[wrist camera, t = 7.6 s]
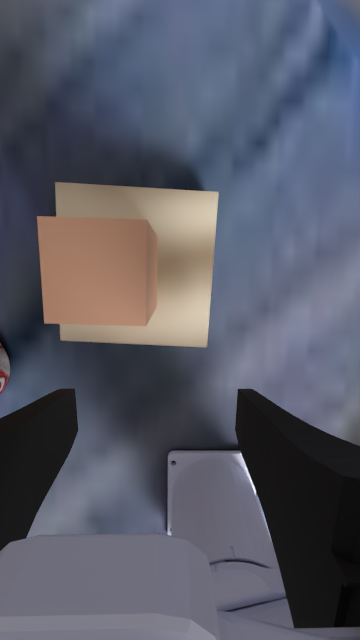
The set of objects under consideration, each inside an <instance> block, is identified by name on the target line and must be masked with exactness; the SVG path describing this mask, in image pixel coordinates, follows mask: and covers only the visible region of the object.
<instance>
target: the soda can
mask: <svg viewBox="0 0 360 640" xmlns="http://www.w3.org/2000/svg"><path fill="white" fill-rule="evenodd" d="M9 376H10V364H9V359H8V356H7V354H6V352H5V350H4V348H3V347H2V345H1V344H0V394H1V392H2V391H3V390H4V389H5V387H6V385H7V383H8V380H9Z"/></svg>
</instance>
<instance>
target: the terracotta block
mask: <svg viewBox="0 0 360 640" xmlns="http://www.w3.org/2000/svg"><path fill="white" fill-rule="evenodd" d="M37 224H38V238H39V253H40V267H41V282H42V297H43V311H44V323H46V324H81V325H117V326H147V324H148V322H149V320H150V319H151V317H152V315H153V313H154V311H155V310H156V308H157V261H158V236H157V235H156V233H155V231H154V230H153V228H152V227H151V225H150V224H149V222H148V221H147V220H143V219H112V218H82V217H52V216H37Z"/></svg>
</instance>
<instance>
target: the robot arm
mask: <svg viewBox="0 0 360 640" xmlns="http://www.w3.org/2000/svg"><path fill="white" fill-rule="evenodd" d="M235 431H236V435H237V439H238V444H239V447H240V451H171V452H169V454H168V531H167V535H165V534H160V533H152V534H79V535H38V536H34V537H30V538H26V537H27V535H28V532H29V530H30V528H31V525H32V523H33V521H34V518H35V516H36V514H37V512H38V510H39V508H40V506H41V504H42V502H43V500H44V498H45V497H46V495H47V493H48V491H49V489H50V487H51V486H52V484H53V482H54V480H55V478H56V477H57V475H58V473H59V471H60V469H61V467H62V466H63V464H64V462H65V460H66V458H67V456H68V454H69V453H70V450H71V448H72V445H73V443H74V440H75V437H76V435H77V432H78V423H77V410H76V398H75V389H59V390H56V391H54V392H52V393H50V394H48V395H46V396H44V397H42V398H40V399H38V400H36V401H34V402H32V403H31V404H29V405H27V406H25V407H23V408H21V409H19V410H17V411H15V412H13V413H11V414H9V415H7V416H4V417H2V418H0V640H360V446H358V445H355V444H352V443H350V442H347V441H345V440H342V439H340V438H337V437H335V436H333V435H330V434H328V433H326V432H324V431H322V430H320V429H318V428H315V427H313V426H311V425H309V424H308V423H306V422H304V421H302V420H300V419H299V418H297V417H295V416H293V415H292V414H290V413H288V412H287V411H285V410H284V409H282V408H280V407H279V406H277V405H276V404H274V403H273V402H271V401H270V400H268V399H267V398H265V397H264V396H262V395H261V394H259V393H258V392H256V391H254V390H253V389H238V396H237V411H236V426H235ZM172 461H176V462H175V463H172ZM256 492H257V495H258V497H259V500H260V503H261V506H262V509H263V511H264V515H265V518H266V522H267V525H268V529H269V532H270V536H271V539H272V542H271V539H270V536H269V533H268V530H267V528H266V525H265V522H264V519H263V516H262V513H261V510H260V508H259V505H258V502H257V499H256ZM272 543H273V545H272ZM273 547H274V548H273Z"/></svg>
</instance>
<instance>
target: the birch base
mask: <svg viewBox="0 0 360 640" xmlns="http://www.w3.org/2000/svg"><path fill="white" fill-rule="evenodd" d="M218 193H219V192H209V191H193V190H177V189H161V188H145V187H129V186H112V185H96V184H80V183H64V182H55V194H56V217H82V218H112V219H143V220H147V221H148V222H149V224H150V225H151V227H152V228H153V230H154V231H155V233H156V235H157V236H158V261H157V308H156V310H155V311H154V313H153V315H152V317H151V319H150V320H149V322H148V324H147V326H117V325H81V324H60V341H79V342H101V343H122V344H144V345H165V346H187V347H207V339H208V326H209V312H210V299H211V286H212V272H213V259H214V246H215V233H216V219H217V206H218Z"/></svg>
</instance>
